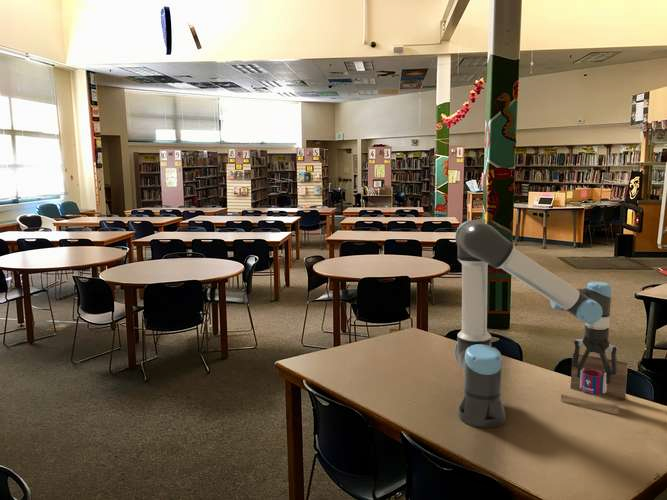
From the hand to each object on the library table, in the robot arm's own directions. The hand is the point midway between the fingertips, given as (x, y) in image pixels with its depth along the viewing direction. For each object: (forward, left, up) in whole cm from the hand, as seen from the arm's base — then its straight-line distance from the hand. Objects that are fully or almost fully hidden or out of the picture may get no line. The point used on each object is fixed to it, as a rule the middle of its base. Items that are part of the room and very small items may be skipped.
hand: (592, 389), depth 185 cm
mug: (0, 0, -1) cm, 1 cm away
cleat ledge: (-6, 0, -5) cm, 7 cm away
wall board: (+8, 0, -5) cm, 9 cm away
